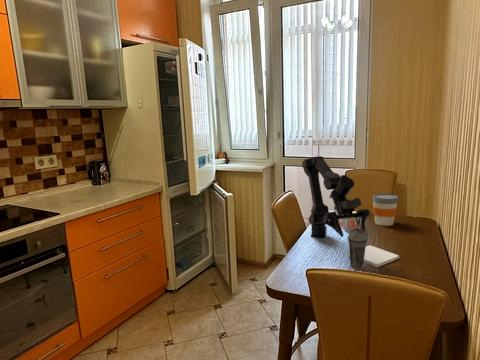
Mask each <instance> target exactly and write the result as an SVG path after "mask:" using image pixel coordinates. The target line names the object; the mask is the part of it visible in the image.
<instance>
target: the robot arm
mask: <svg viewBox="0 0 480 360" xmlns="http://www.w3.org/2000/svg"><path fill="white" fill-rule="evenodd" d="M301 164H302V168H303V171H304V174H305V175H306V176H307V177H308V181H309V187H310V192H311V193H310V194H311V200H312V208H311V210H310V215H309V217H308V223H309V224H310V225H311V234H310V237H312V238H318V239H319V238H321V239H324V238H325V237H326V236H327V231H328V230H327V226H328V227H330V228H332V229H333V230H334V231H335V232H336V233H337V234H338V235H339V236H340V237H341V238H342V237H344V233H343V228H342V227H341V226H340V224H339V219H347V218H356V220H357V224H358V226H359V225H360V218H362V220H361V227H360V229H362V230H363V231H364V232H365V233H366V220H367V219H368V218H369V217H370V216H371V212H370V209H368V208H361V209H359V207H360V206H362V201H361V198H360V197H355V198H353V199H348V197H347V196H348V195H349V194H350V192H351V191H352V189H353V188H354V186H355V181H354V180H353V179H352V178H350V177H348V176H347V174H343V175H340V174H338V173H336V172H335V171H333V170H332V169H331V167H330V166H329V164H328V163H327V162H326V161H325V158H324V156H321V155H319V156H318V155H315V156H313V157H310V158H304V160H303V161H302V162H301ZM319 174H320V175H321V176H322V178H323V186H324V188H325V189H326V190H327V191H328V190H329V191H330V190H331V192H330V194H329V199H332V201H333V205H335V207H333V210H334V209H335V210H337V213H338V215H337V214H336V212H334V211H329V206H328V205H325V203H324V200H323V195H322V191H321V190H322V189H321V183H320V178H319ZM355 209H359V210H357V211H356V210H355ZM353 211H356V212H357V213H353ZM326 225H327V226H326Z"/></svg>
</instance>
